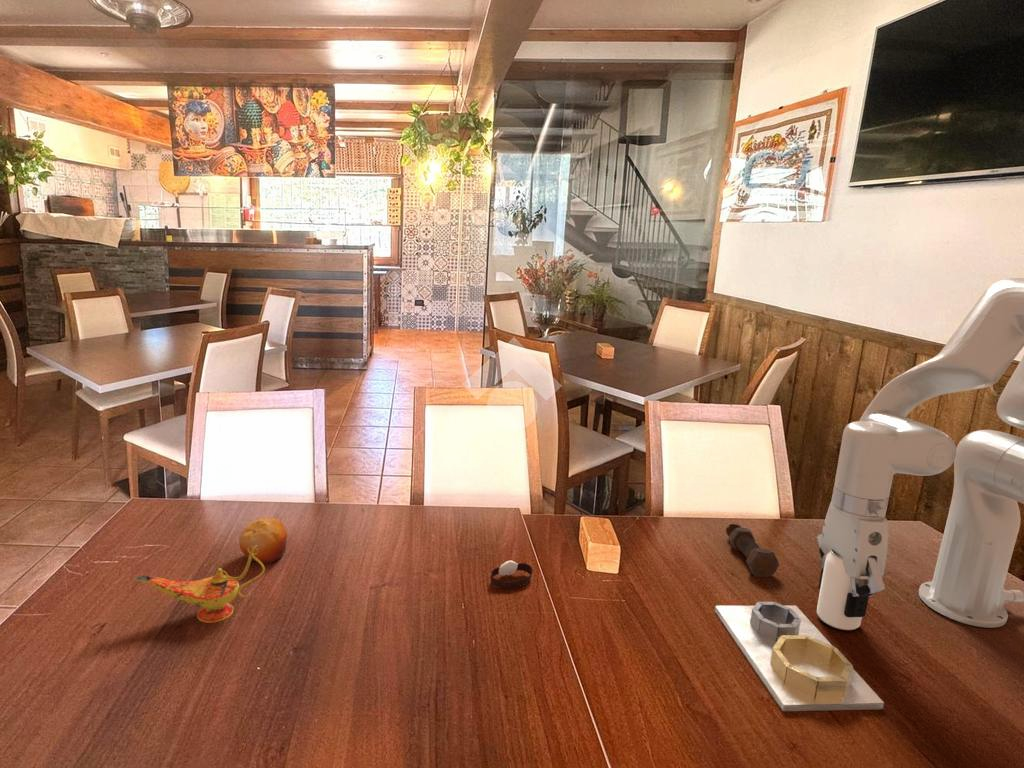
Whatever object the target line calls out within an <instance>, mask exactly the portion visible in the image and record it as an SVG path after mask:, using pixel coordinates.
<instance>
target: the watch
mask: <svg viewBox="0 0 1024 768" xmlns="http://www.w3.org/2000/svg"><path fill="white" fill-rule="evenodd" d="M517 571H523V572H526V573H528V574H529V575H528V576H527V577H525V578H522V579H521V578H520V579H517V580H510V581H502V580H499V579H496V578H495V576H497V575H500V576H502V577H506V576H505V575H508V576H511V575H512V574H514V573H515V572H517ZM533 572H534V571H533V567H532V566H531V565H529V563H523V562H520V563H518V562H515V561H513V560H507V561H505V562H503V563H502V564H500V566H499V567H495V568H494V569H492V570H491V572H490V582H491V584H492V585H493V587H496V588H498V587H499V589H514V588H513V587H515V588H520V587H521V586H523V584H524V585H526V584H528V583H529V582H530V580H531V579H532V575H533ZM510 574H511V575H510ZM528 581H529V582H528ZM527 582H528V583H527ZM520 585H521V586H520Z"/></svg>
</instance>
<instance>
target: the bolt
mask: <svg viewBox="0 0 1024 768" xmlns="http://www.w3.org/2000/svg"><path fill="white" fill-rule="evenodd" d="M725 533H726V535H727V537H728V541H729V542H730V545H731V546H732V548H733V549H734V550H735V551H738V552H741V553H742V554H743V555H744V556H745V557H746V561H745V562H746V565H747V567H748V569H749V571H750V572H751V575H753V576H754V577H758V578H769V577H773V575H774V574H775V573H776V572H777V570H778V569H779V566H780V562H779V559H778V558H777V556H776V554H775V552H774V551H773V550H772V549H771V548H761V547H760V546H759V545H758V543H757V542H755V541H756V539H755V537H754V535H753V533H752V531H751V530H750V529H749V528H748V527H742V526H741V525H739V524H736V523H735V524H734V523H733V524H732V523H730V524H729V525H728V526H727V527H726V528H725Z"/></svg>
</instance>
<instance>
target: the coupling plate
mask: <svg viewBox="0 0 1024 768" xmlns="http://www.w3.org/2000/svg"><path fill="white" fill-rule="evenodd" d="M714 606H715V607H714V612H715V614H716V615H717V617H718V619H719V620H720V621H721V623H722V624H723V626H724V627H725V628H726V630H727V632H728V633H729V635H730V636H731V637H732V639H733V641H734V642H735V644H736V645H737V647H738V648H739V649H740V651H741V652H742V654H743V655H744V656H745V658H746V660H747V661H748V662H749V664H750V665H751V667H752V669H753V670H754V671H755V673H756V674H757V676H758V677H759V679H760V681H761V682H762V683H763V684H764V686H765V688H766V690H767V691H768V692H769V693H770V695H771V696H772V698H773V699H774V701H775V702H776V703H777V705H778V707H779V709H781V711H782V712H812V711H813V712H814V711H816V712H817V711H820V712H821V711H822V712H823V711H859V710H862V711H863V710H883V709H884V705H885V701H883V700H882V699H881V698H880V697H879V695H878V694H877V693H876V692H875V691H874V690H873V689H872V688H871V687H870V685H869V684H867V682H866V681H865V680H864V678H863V677H861V675H860V674H859V673H858V672H857V671H856V670H855V669H854V666H853V664H852V663H851V662H850V661H849V659H847V657H845V655H844V654H843V653H842V652H841V651H840V649H838V648H837V647H836V646H834V645H832V643H830V641H829V640H828V639H827V638H826V637H825V636H824V635H823V633H822V632H821V631H820V630H819V629H818V628H817V627H816V626H815V625H814V623H813V622H812V621H810V620H809V618H808V617H807V616H806V615H805V614H804V612H802V610H801V609H799V607H798V606H797V605H783V604H781V603H778V602H775V601H757V602H756V603H755V605H714Z"/></svg>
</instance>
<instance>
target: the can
mask: <svg viewBox="0 0 1024 768" xmlns="http://www.w3.org/2000/svg"><path fill="white" fill-rule="evenodd" d="M860 575H866V570H864V571H863V573H860ZM863 585H864V580H858V586H859V587H861V586H863ZM848 593H851V585H850V576H849V575H848V574H847V573H846V571H845V567H844V565H843V562H842V558H841V557H839V556H837V555H835V554H834V553H833V552H832V550H831V549H830V552H829V553H828V554H827V556H826V560H825V565H824V571H823V576H822V582H821V588H820V590H819V594H818V595H819V596H818V600H817V607H816V614H817V616H818V618H819V619H820V620H821V621H822V622H823V623H825V624H826V625H827V626H829V627H831V628H835V629H836V630H842V631H854V630H856V629H858V628H859V627H860V626H861V624H862V619H863V617H846V616H845V615H844V611H845V605H846V600H847V594H848Z"/></svg>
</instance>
